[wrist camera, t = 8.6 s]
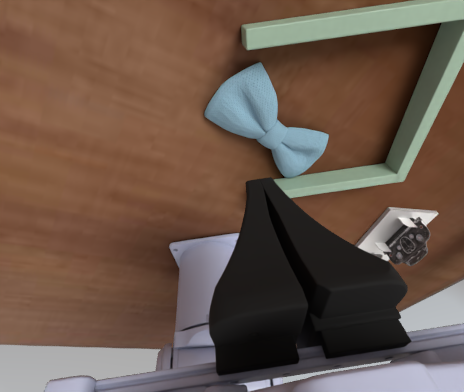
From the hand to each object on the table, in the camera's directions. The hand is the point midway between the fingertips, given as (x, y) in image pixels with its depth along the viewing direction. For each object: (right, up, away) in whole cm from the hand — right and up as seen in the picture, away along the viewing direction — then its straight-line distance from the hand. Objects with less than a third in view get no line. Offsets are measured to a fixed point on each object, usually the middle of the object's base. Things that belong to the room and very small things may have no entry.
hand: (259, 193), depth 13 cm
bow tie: (+2, +5, +6) cm, 8 cm away
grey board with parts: (+18, -7, +19) cm, 27 cm away
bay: (+6, +6, +5) cm, 10 cm away
